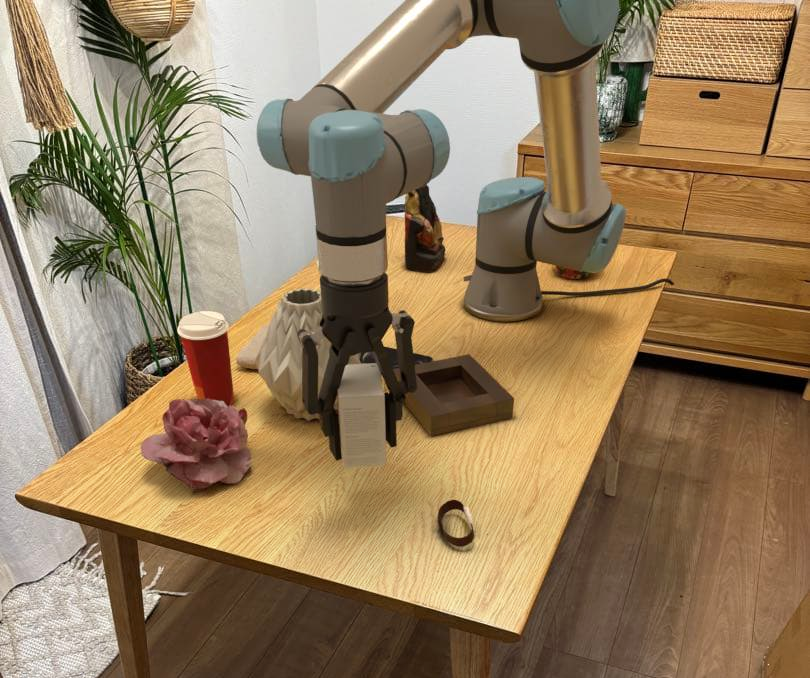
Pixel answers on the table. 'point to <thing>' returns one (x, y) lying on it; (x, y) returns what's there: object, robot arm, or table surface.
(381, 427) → the small box
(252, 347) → the washcloth
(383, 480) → the table surface
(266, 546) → the table surface
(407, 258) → the statue
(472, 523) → the watch
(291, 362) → the vase
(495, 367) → the table surface
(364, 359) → the smartphone
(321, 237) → the robot arm
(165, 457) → the flower
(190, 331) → the paper cup
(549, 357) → the table surface
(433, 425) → the square wooden frame
